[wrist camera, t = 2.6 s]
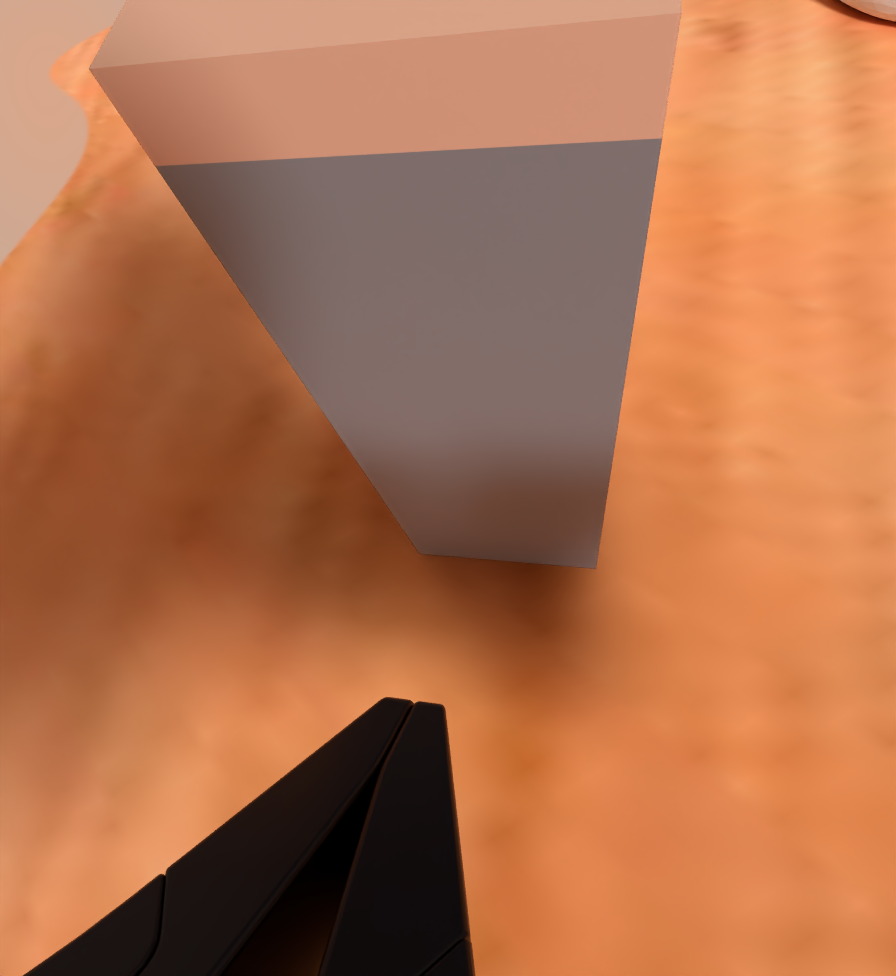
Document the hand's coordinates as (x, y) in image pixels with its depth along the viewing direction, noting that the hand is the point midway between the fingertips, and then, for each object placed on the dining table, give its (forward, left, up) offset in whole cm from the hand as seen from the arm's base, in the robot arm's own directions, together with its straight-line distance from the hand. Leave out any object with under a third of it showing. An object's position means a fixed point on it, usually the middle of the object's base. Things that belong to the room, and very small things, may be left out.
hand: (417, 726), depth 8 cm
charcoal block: (+6, +4, -8) cm, 11 cm away
